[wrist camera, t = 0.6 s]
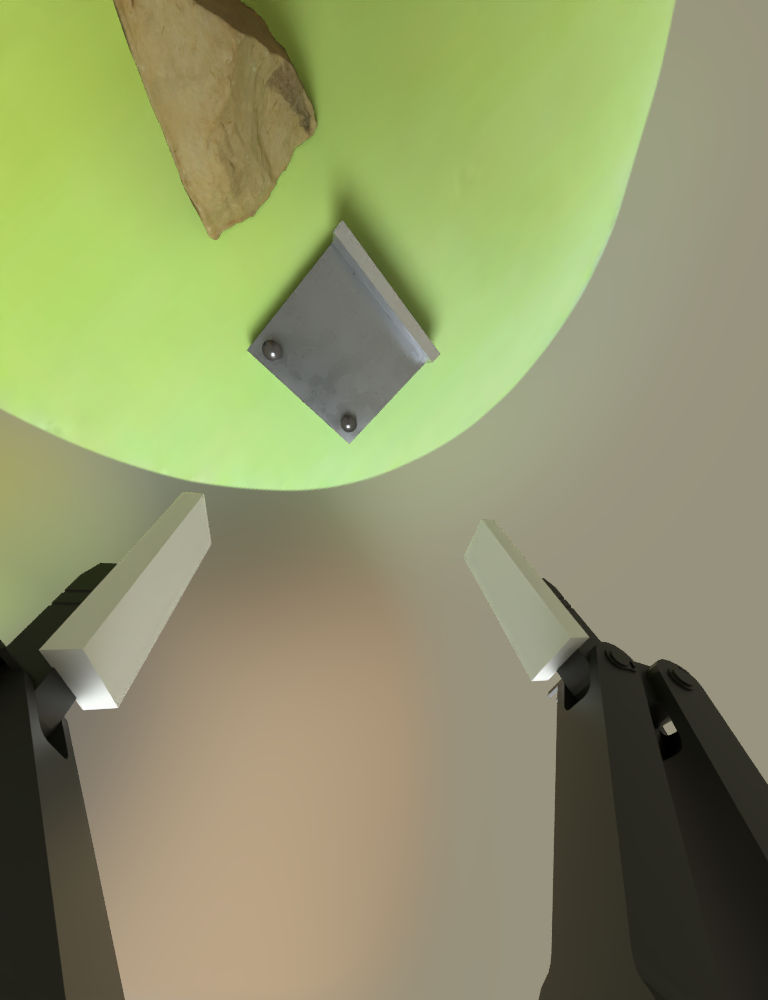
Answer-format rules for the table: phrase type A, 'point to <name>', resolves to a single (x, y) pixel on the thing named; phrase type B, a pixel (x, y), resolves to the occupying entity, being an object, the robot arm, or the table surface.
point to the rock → (219, 100)
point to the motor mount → (344, 339)
